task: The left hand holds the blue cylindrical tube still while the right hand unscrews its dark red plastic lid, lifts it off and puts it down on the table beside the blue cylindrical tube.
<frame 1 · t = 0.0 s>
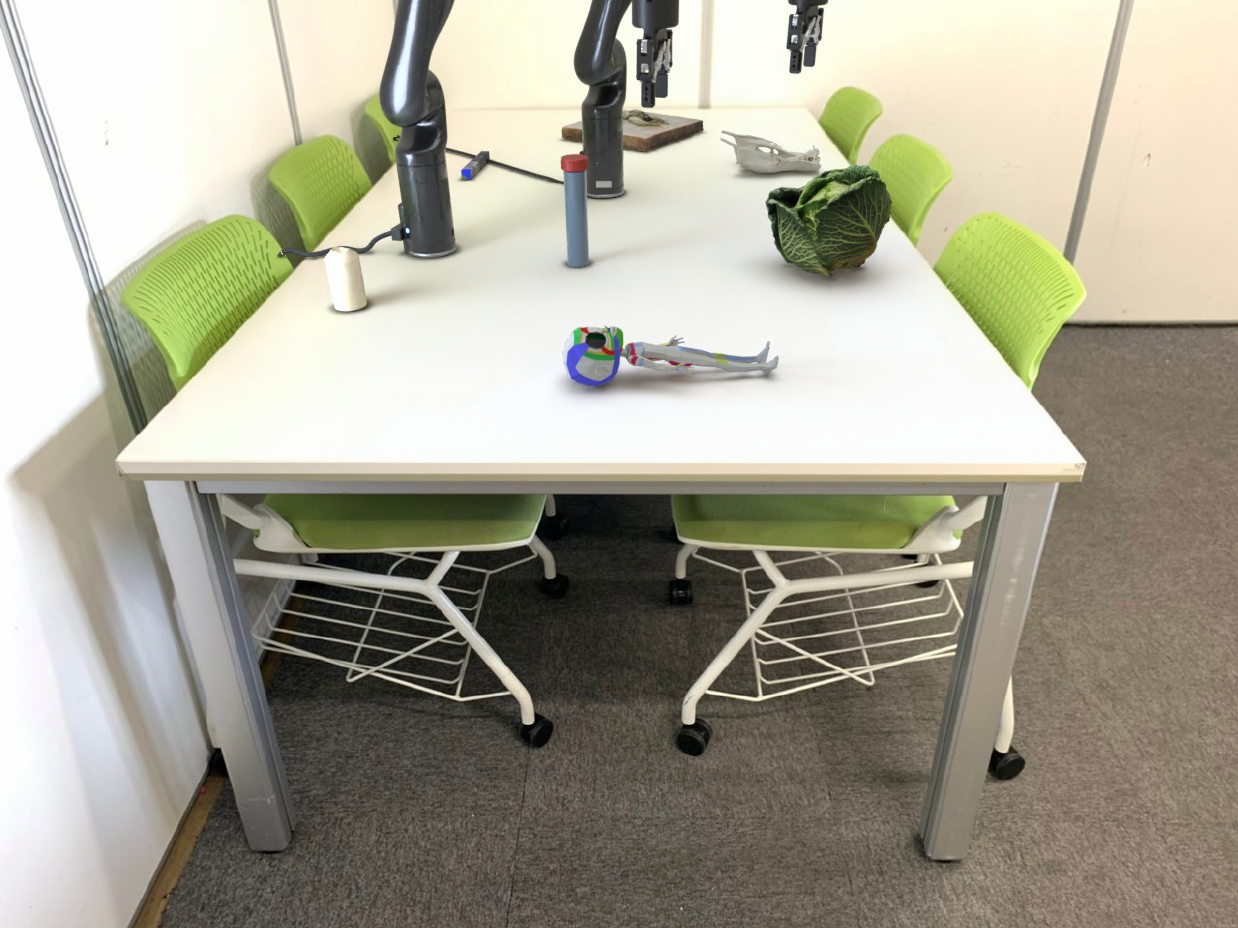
left hand: (654, 102, 150), 29 cm above the table, tool pointing down, fingers open, 8 cm apart
right hand: (802, 70, 176), 29 cm above the table, tool pointing down, fingers open, 8 cm apart
plaque: (633, 136, 259), on the table
lid: (574, 159, 159), point 19 cm above the table, screwed on, not yet turned
vegetable: (824, 269, 165), on the table
candle: (350, 306, 153), on the table
anatomical model: (769, 171, 224), on the table
pillar: (476, 170, 229), on the table
blue cylindrical tube: (578, 263, 169), on the table
toy: (669, 376, 129), on the table
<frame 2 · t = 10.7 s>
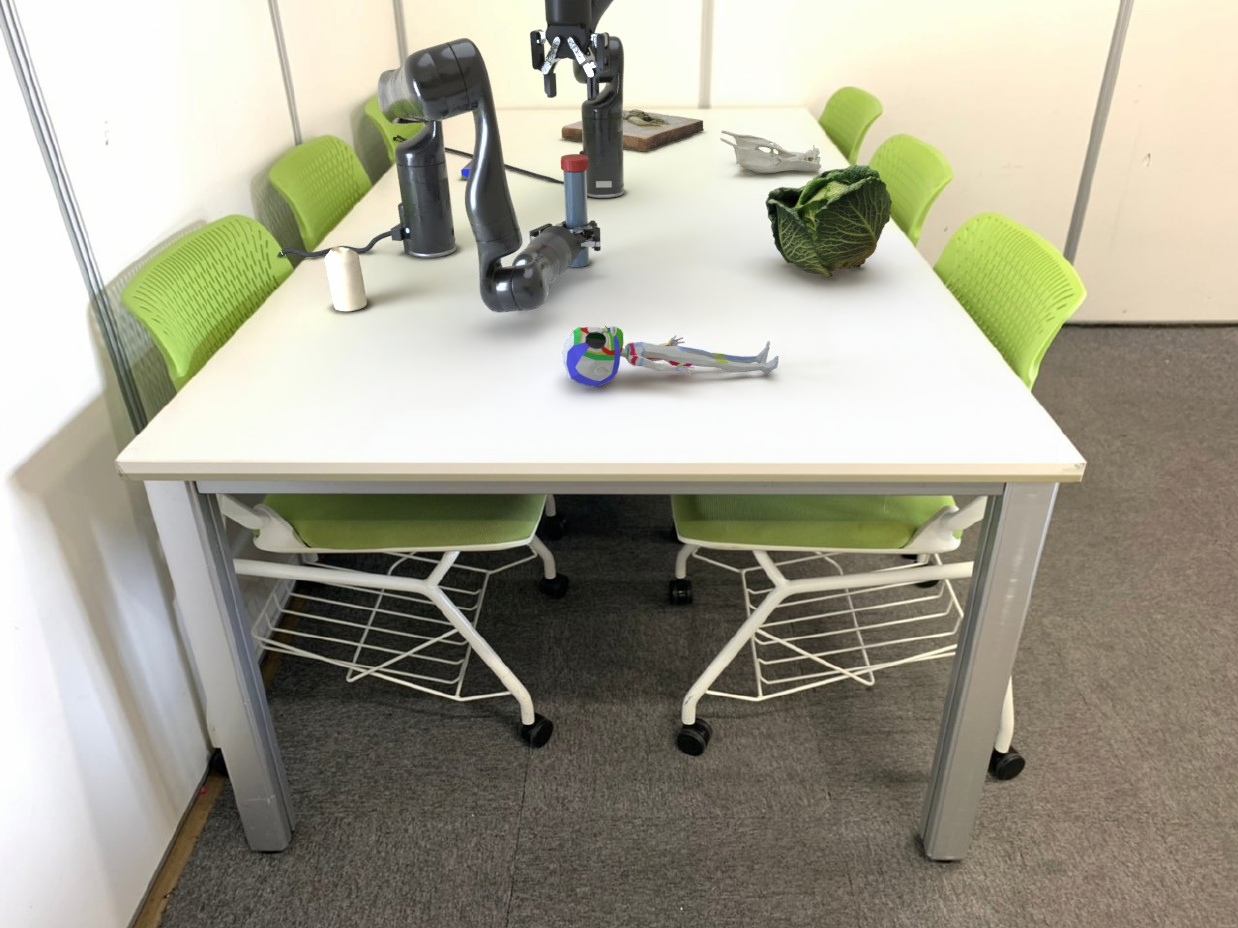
left hand: (581, 224, 168), 7 cm above the table, tool horizontal, fingers closed on blue cylindrical tube, 4 cm apart
right hand: (571, 98, 154), 29 cm above the table, tool pointing down, fingers open, 7 cm apart
blue cylindrical tube: (578, 263, 169), on the table, touching left hand
everything else where it was.
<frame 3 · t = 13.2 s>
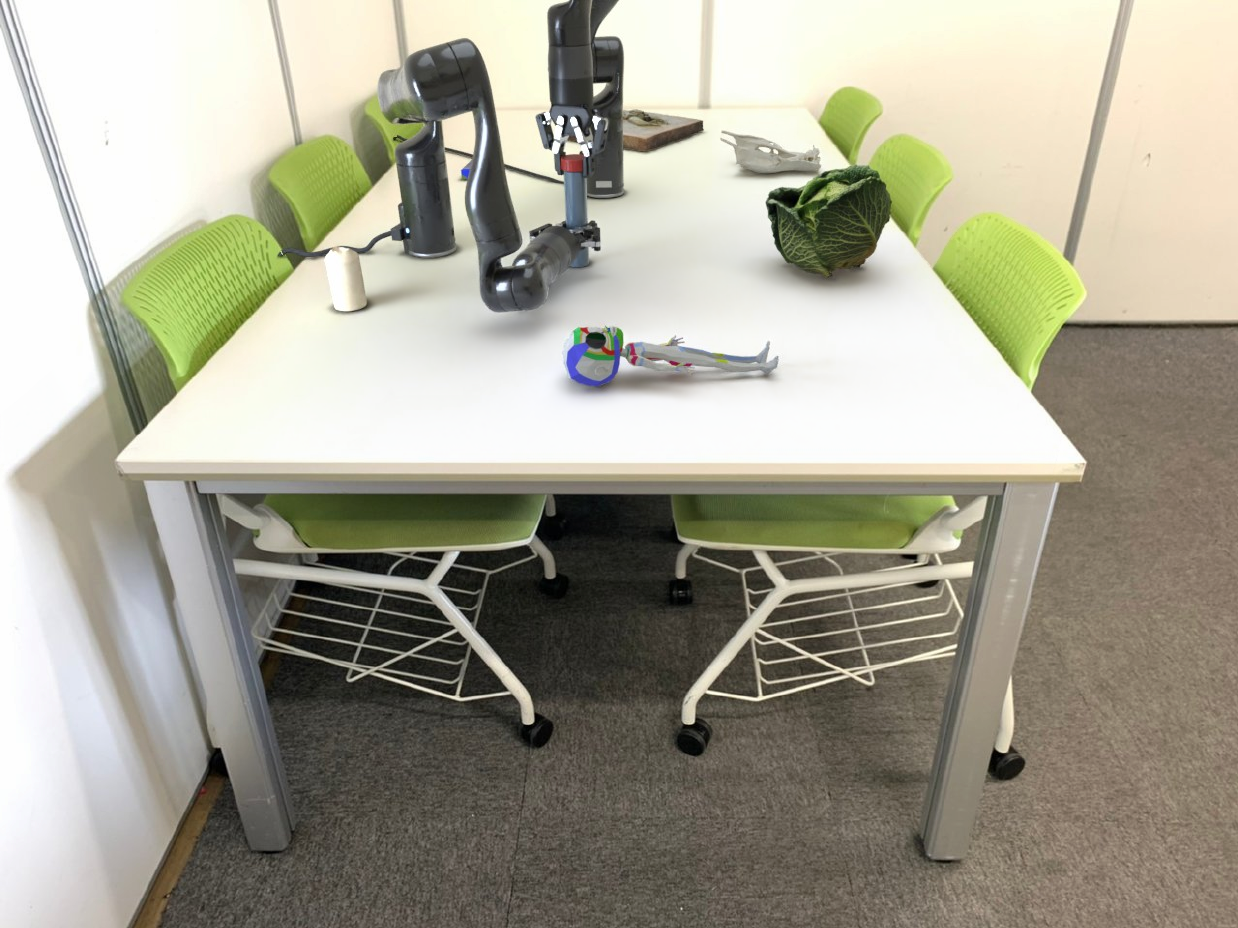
left hand: (581, 224, 168), 7 cm above the table, tool horizontal, fingers closed on blue cylindrical tube, 4 cm apart
right hand: (574, 175, 160), 16 cm above the table, tool pointing down, fingers closed on lid, 4 cm apart
lid: (574, 159, 159), point 19 cm above the table, screwed on, not yet turned, touching right hand
blue cylindrical tube: (578, 263, 169), on the table, touching left hand
everything else where it was.
when the right hand's fingers open (17 cm above the table, at t = 14.9 s): lid stays where it is, point 19 cm above the table.
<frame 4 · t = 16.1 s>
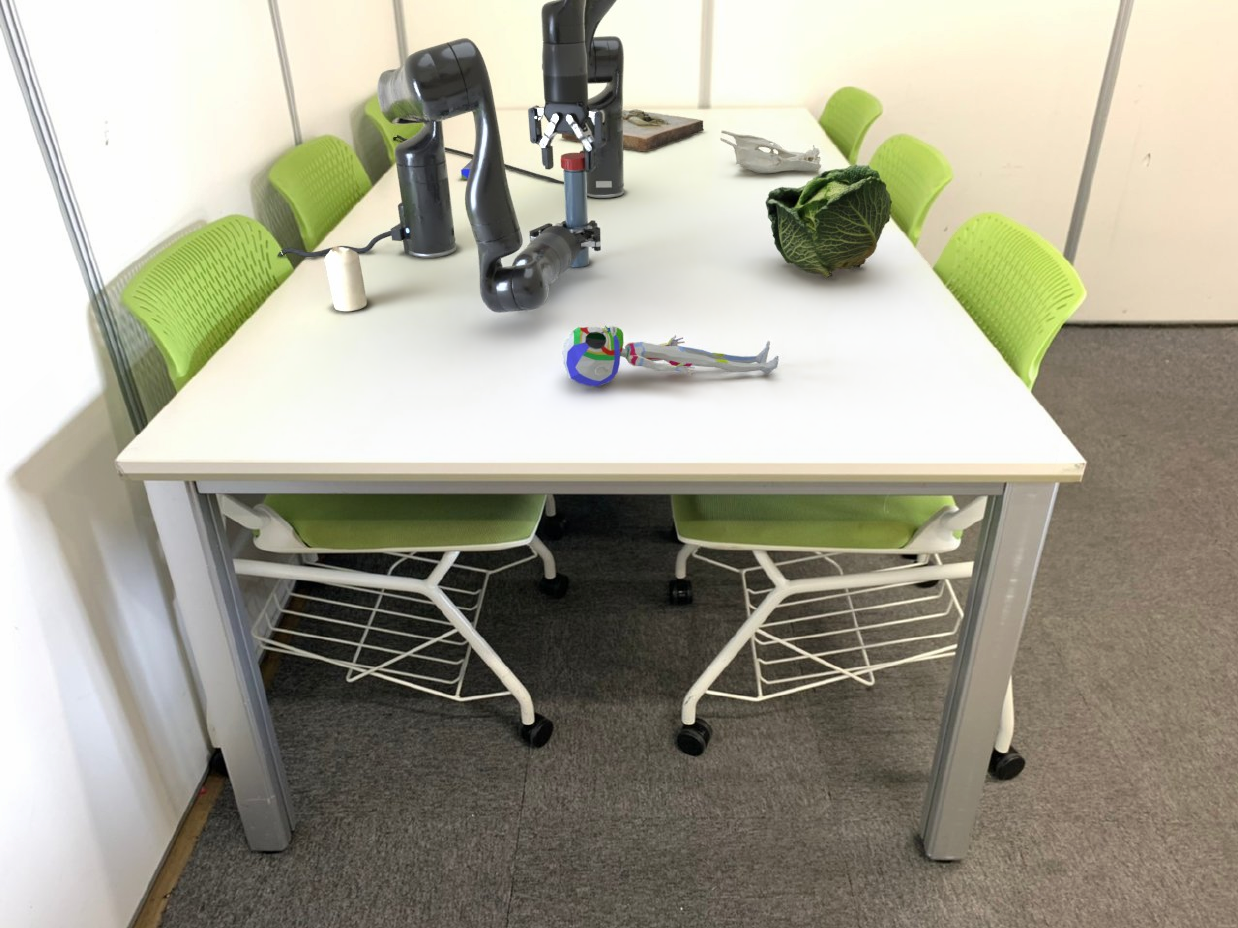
left hand: (581, 224, 168), 7 cm above the table, tool horizontal, fingers closed on blue cylindrical tube, 4 cm apart
right hand: (569, 170, 160), 17 cm above the table, tool pointing down, fingers open, 7 cm apart
lid: (574, 157, 159), point 19 cm above the table, turned 102° so far, risen 0.2 cm, still on its thread
blue cylindrical tube: (578, 263, 169), on the table, touching left hand
everything else where it was.
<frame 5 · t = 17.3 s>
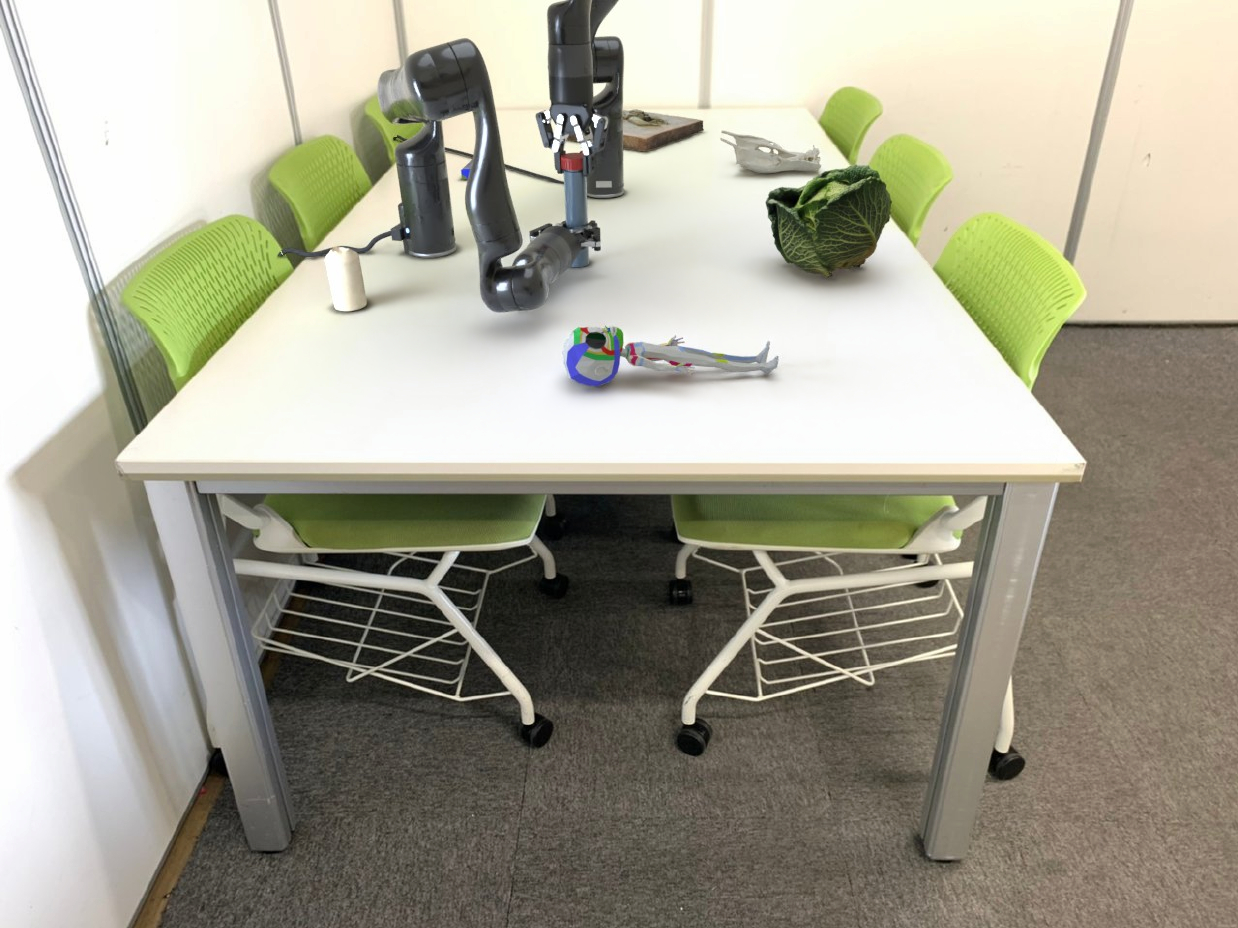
left hand: (581, 224, 168), 7 cm above the table, tool horizontal, fingers closed on blue cylindrical tube, 4 cm apart
right hand: (574, 174, 160), 17 cm above the table, tool pointing down, fingers closed on lid, 4 cm apart
lid: (574, 157, 159), point 19 cm above the table, turned 102° so far, risen 0.2 cm, still on its thread, touching right hand
blue cylindrical tube: (578, 263, 169), on the table, touching left hand
everything else where it was.
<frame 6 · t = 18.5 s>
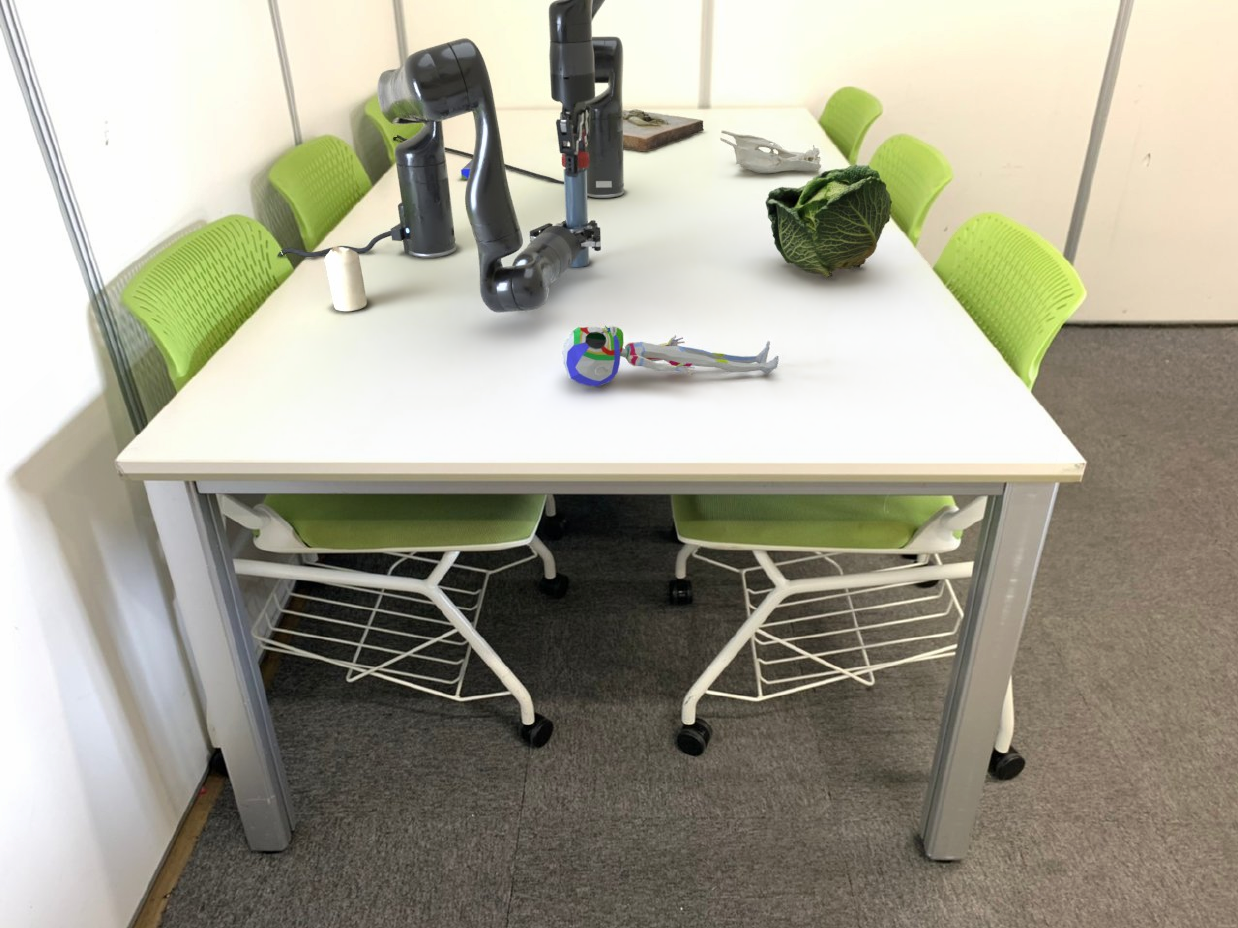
left hand: (581, 224, 168), 7 cm above the table, tool horizontal, fingers closed on blue cylindrical tube, 4 cm apart
right hand: (576, 172, 160), 17 cm above the table, tool pointing down, fingers closed on lid, 4 cm apart
lid: (575, 156, 159), point 20 cm above the table, off its thread, touching right hand
blue cylindrical tube: (578, 263, 169), on the table, touching left hand
everything else where it was.
when the right hand's fingers open (0 cm above the table, at t = 23.7 s): lid drops 2 cm, point 2 cm above the table.
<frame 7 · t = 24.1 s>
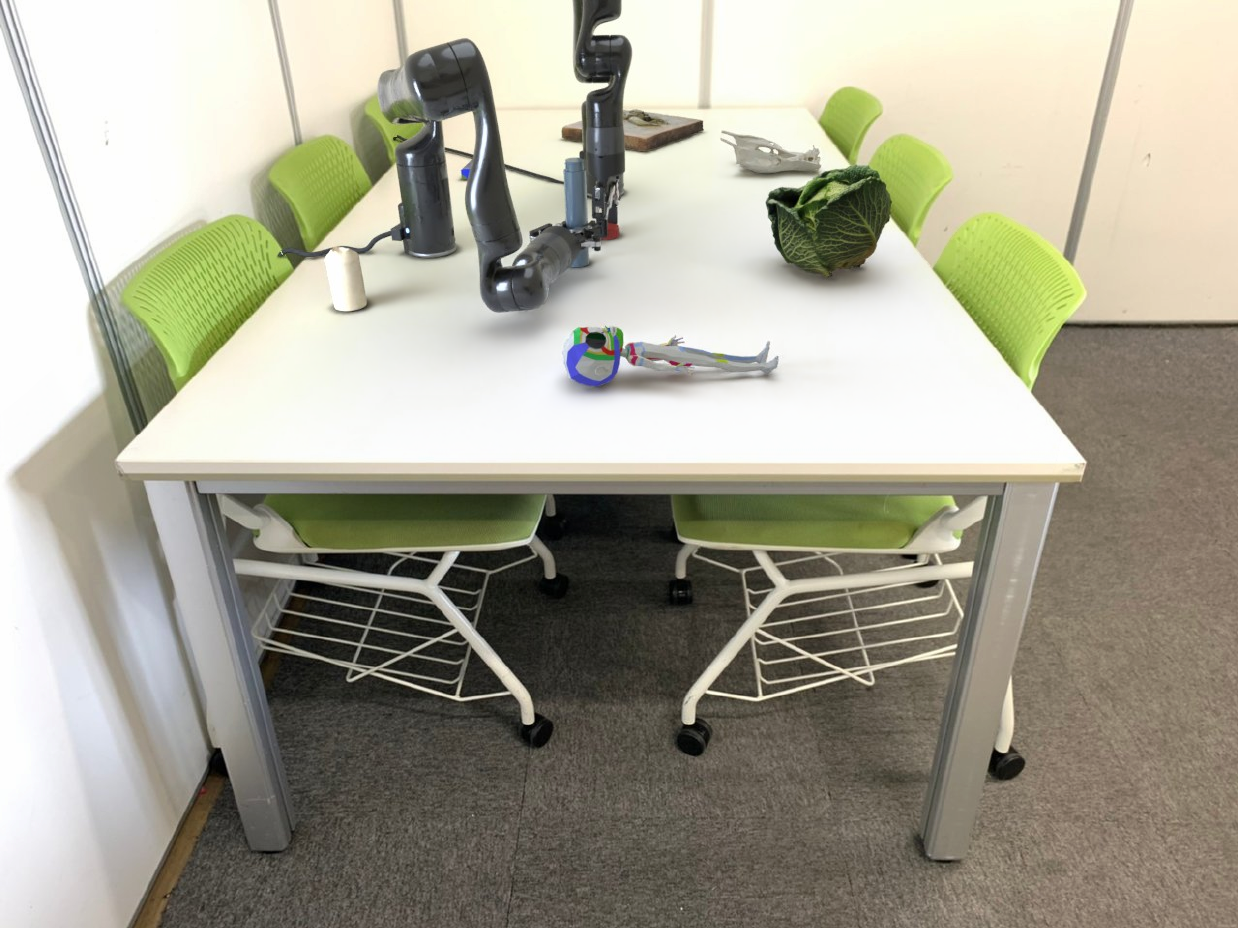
left hand: (581, 224, 168), 7 cm above the table, tool horizontal, fingers closed on blue cylindrical tube, 4 cm apart
right hand: (607, 231, 182), 1 cm above the table, tool pointing down, fingers open, 8 cm apart
lid: (607, 228, 182), point 2 cm above the table, off its thread
blue cylindrical tube: (578, 263, 169), on the table, touching left hand
everything else where it was.
when the left hand's fingers open (7 cm above the table, at t = 24.8 s): blue cylindrical tube stays where it is, on the table.
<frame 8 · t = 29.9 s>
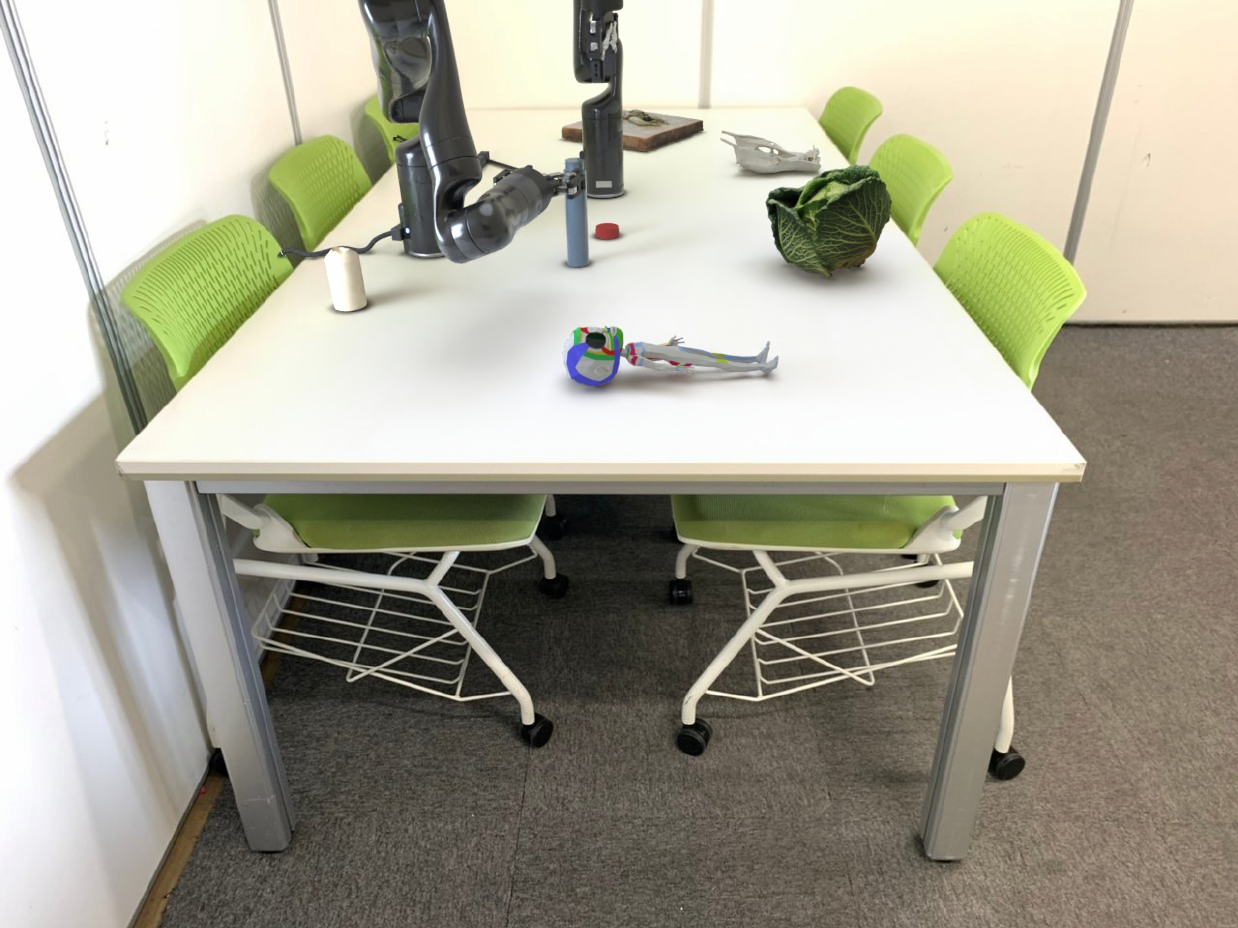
left hand: (554, 172, 150), 19 cm above the table, tool horizontal, fingers open, 8 cm apart
right hand: (604, 78, 167), 30 cm above the table, tool pointing down, fingers open, 8 cm apart
blue cylindrical tube: (578, 263, 169), on the table
everything else where it was.
at the end: lid came off its thread; lid point 1.6 cm above the table; the left hand is holding nothing; the right hand is holding nothing; blue cylindrical tube tilted 0°; blue cylindrical tube moved 0.0 cm from its start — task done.
